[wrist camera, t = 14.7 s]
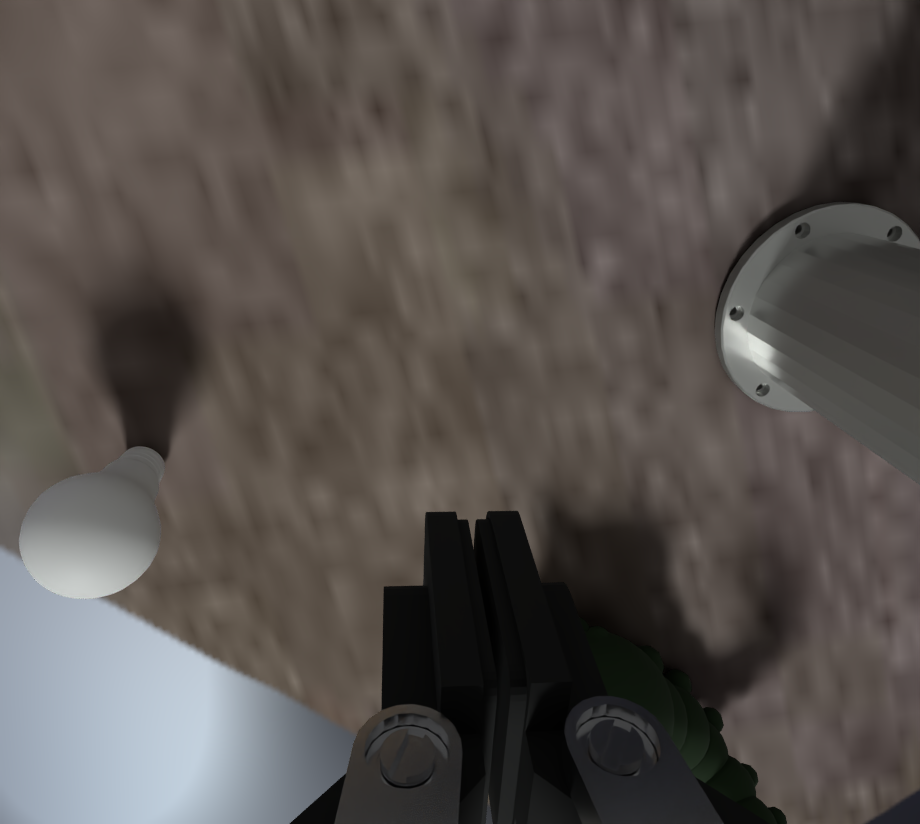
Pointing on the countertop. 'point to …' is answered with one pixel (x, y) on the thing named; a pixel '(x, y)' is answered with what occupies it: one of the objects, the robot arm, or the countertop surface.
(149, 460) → the lightbulb
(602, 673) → the toy figurine
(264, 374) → the countertop surface
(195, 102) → the countertop surface
